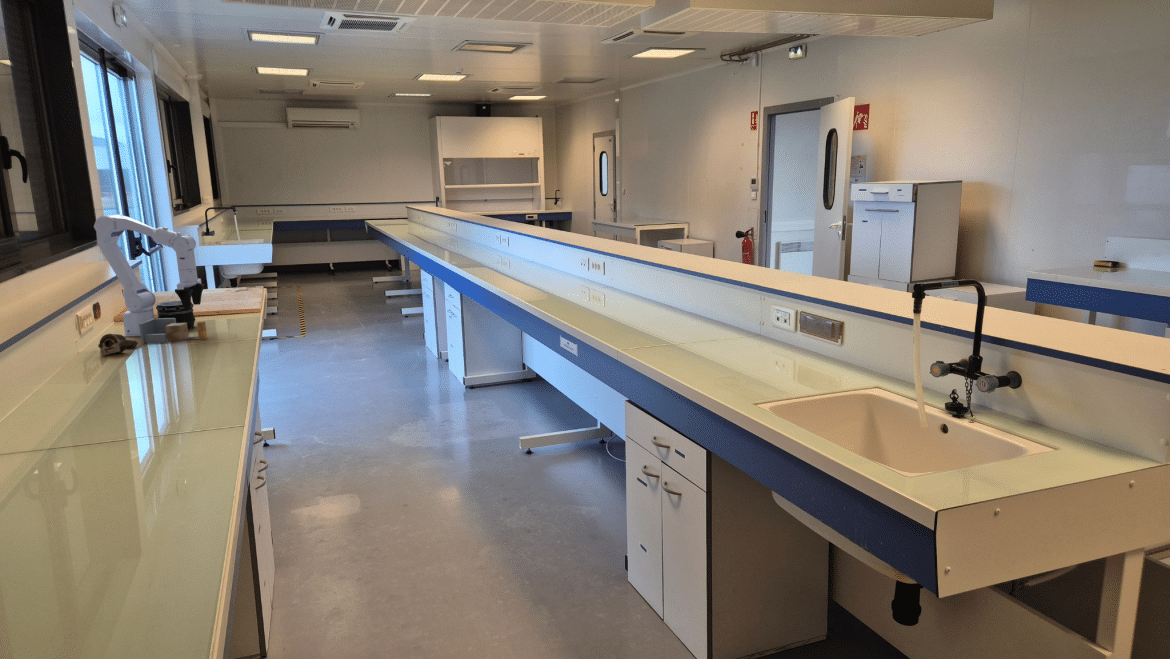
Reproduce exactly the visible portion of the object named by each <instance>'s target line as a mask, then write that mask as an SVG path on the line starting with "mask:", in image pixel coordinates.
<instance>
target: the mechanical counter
mask: <svg viewBox="0 0 1170 659" xmlns="http://www.w3.org/2000/svg"><path fill="white" fill-rule="evenodd" d="M138 345H139V342H138V340H132V339H127V338H126V337H125V336H124V335H122V334H116V333H106V334H103V335H102V337H101V338H100V340H99V344H97V347H98V348H99V349H100V354H101V356H106V355H111V354H122V353H123V352H125V351H126V349H135V348H136V347H137V346H138Z"/></svg>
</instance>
